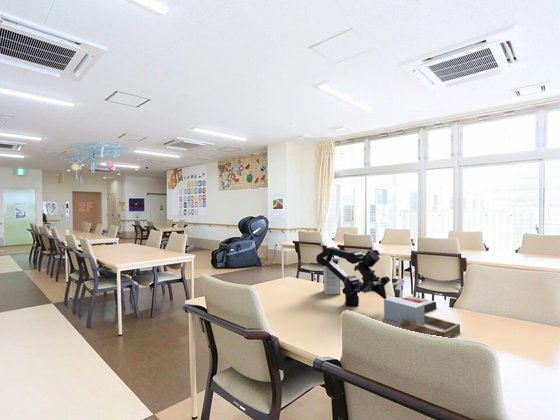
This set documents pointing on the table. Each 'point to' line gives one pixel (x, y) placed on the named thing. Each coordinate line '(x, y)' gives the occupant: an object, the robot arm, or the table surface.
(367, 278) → the robot arm
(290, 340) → the table surface
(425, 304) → the calculator
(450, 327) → the frame
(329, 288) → the supplement box
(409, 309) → the slate box
